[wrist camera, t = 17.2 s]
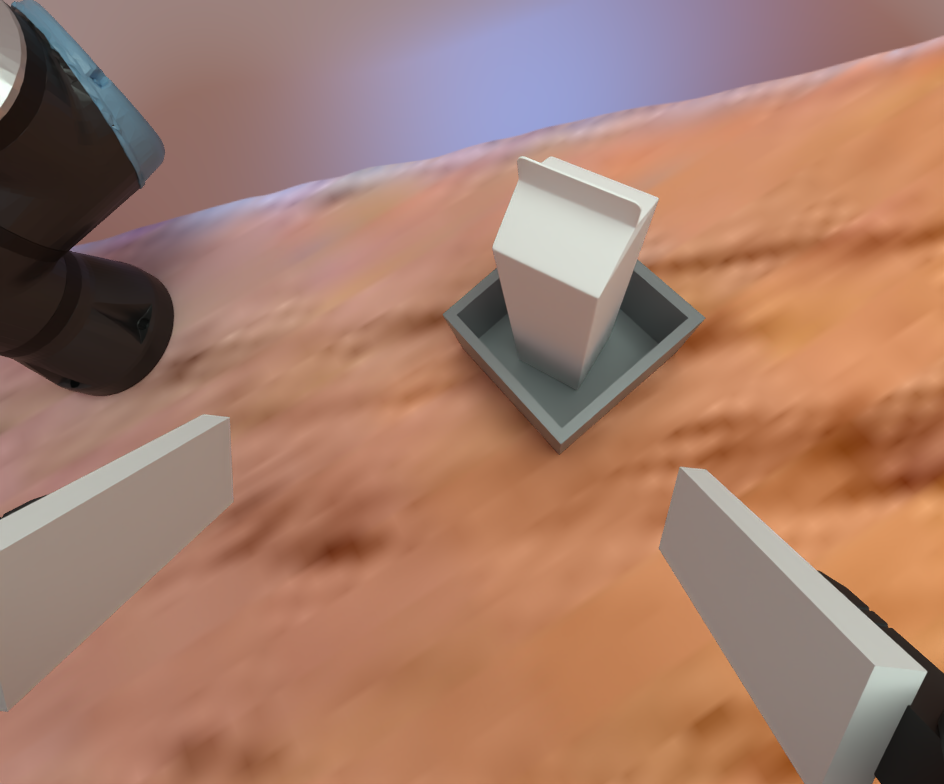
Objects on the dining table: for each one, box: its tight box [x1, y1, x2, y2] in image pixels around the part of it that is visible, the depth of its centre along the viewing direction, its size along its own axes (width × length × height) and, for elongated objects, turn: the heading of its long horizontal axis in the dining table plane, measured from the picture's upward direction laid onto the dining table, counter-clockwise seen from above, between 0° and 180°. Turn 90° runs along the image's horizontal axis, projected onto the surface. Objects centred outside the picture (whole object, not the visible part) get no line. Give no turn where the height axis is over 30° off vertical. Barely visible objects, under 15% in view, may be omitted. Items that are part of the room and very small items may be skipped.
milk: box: [492, 156, 659, 390], centre depth 29 cm, size 6×6×22 cm
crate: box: [443, 260, 705, 455], centre depth 37 cm, size 14×14×8 cm
